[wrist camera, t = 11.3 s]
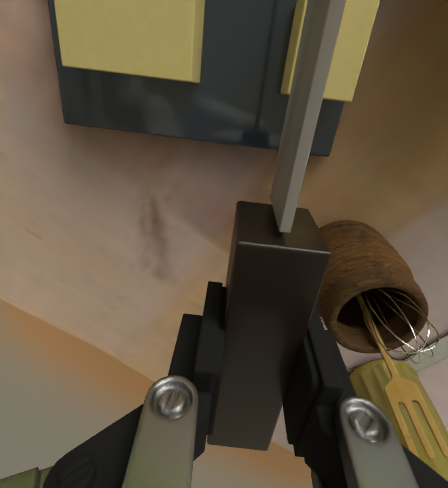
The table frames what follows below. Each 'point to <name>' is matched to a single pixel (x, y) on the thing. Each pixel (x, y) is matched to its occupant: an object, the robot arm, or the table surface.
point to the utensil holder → (377, 313)
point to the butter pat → (337, 48)
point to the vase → (401, 406)
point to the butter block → (133, 36)
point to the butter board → (204, 85)
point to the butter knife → (440, 351)
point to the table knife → (276, 259)
